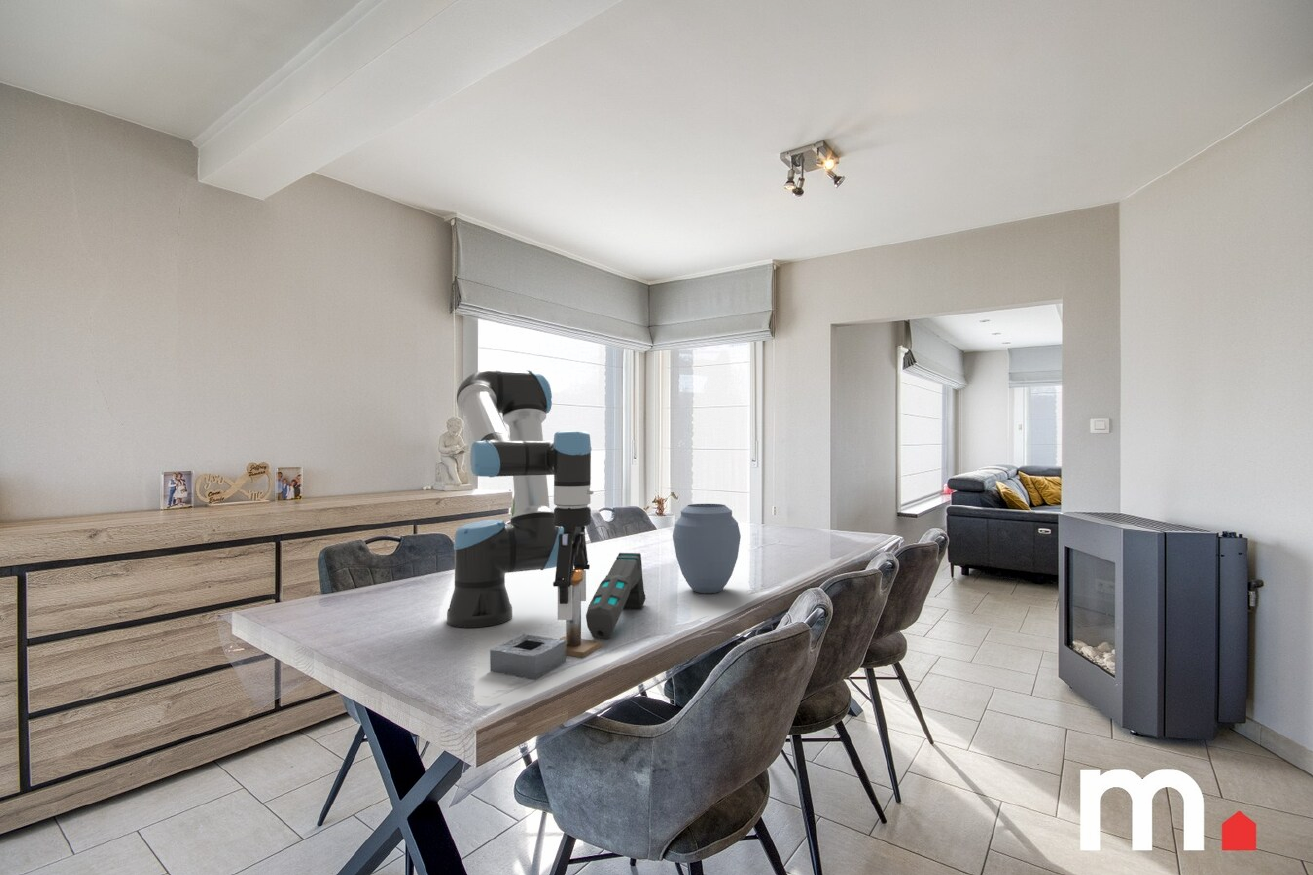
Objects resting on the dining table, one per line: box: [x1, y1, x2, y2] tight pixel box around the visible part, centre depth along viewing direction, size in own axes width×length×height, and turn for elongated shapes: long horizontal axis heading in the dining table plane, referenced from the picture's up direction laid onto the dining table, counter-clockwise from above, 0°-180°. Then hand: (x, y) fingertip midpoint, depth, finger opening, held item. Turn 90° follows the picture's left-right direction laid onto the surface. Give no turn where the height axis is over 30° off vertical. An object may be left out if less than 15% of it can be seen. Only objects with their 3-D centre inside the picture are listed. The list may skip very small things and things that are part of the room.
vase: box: [672, 503, 742, 595], centre depth 171 cm, size 20×20×24 cm
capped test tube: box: [565, 568, 583, 647], centre depth 122 cm, size 4×4×15 cm
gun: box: [585, 552, 646, 640], centre depth 142 cm, size 7×29×15 cm, turn 168°
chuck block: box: [489, 633, 567, 681], centre depth 112 cm, size 10×10×4 cm
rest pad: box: [559, 635, 602, 658], centre depth 122 cm, size 9×7×1 cm
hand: (572, 609), depth 122 cm, fingers open, 13 cm apart
